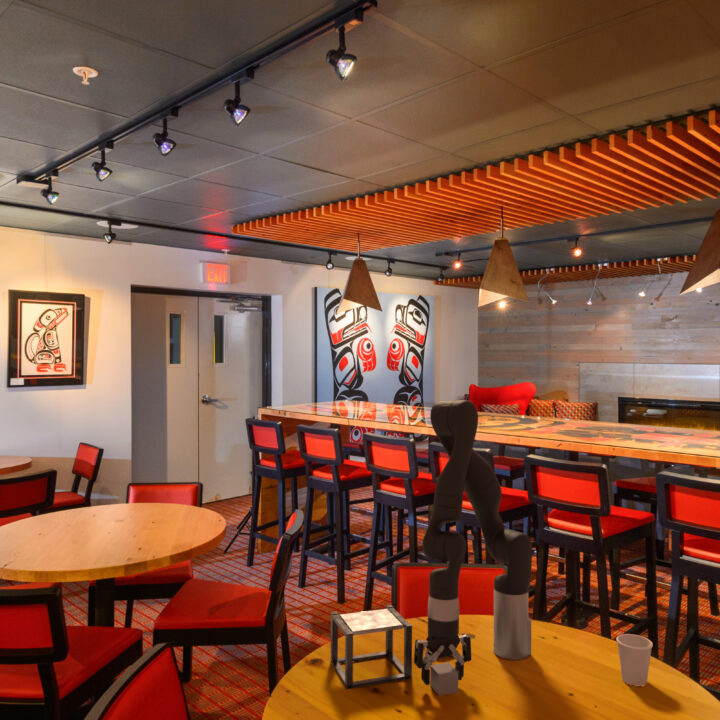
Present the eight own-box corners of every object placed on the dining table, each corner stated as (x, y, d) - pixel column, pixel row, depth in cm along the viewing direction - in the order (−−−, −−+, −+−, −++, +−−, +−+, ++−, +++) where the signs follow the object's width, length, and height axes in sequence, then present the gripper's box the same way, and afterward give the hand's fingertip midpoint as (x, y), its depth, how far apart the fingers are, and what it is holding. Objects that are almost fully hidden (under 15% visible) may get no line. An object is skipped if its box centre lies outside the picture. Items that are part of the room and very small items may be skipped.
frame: (390, 653, 171) (391, 604, 172) (411, 678, 158) (412, 625, 158) (330, 662, 166) (330, 612, 166) (346, 689, 152) (347, 634, 152)
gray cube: (448, 682, 156) (448, 662, 156) (458, 692, 151) (458, 671, 151) (430, 685, 154) (430, 665, 154) (439, 696, 150) (439, 674, 150)
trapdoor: (385, 611, 170) (385, 607, 170) (402, 628, 159) (402, 624, 159) (338, 617, 166) (339, 613, 166) (352, 635, 155) (352, 631, 155)
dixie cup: (616, 685, 155) (617, 644, 155) (615, 670, 163) (615, 631, 163) (654, 692, 152) (654, 650, 152) (651, 676, 160) (651, 636, 160)
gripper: (462, 605, 159) (461, 670, 159) (410, 611, 154) (409, 678, 154) (477, 616, 152) (476, 684, 151) (422, 623, 147) (421, 693, 147)
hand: (442, 681), depth 153 cm, fingers open, 8 cm apart
